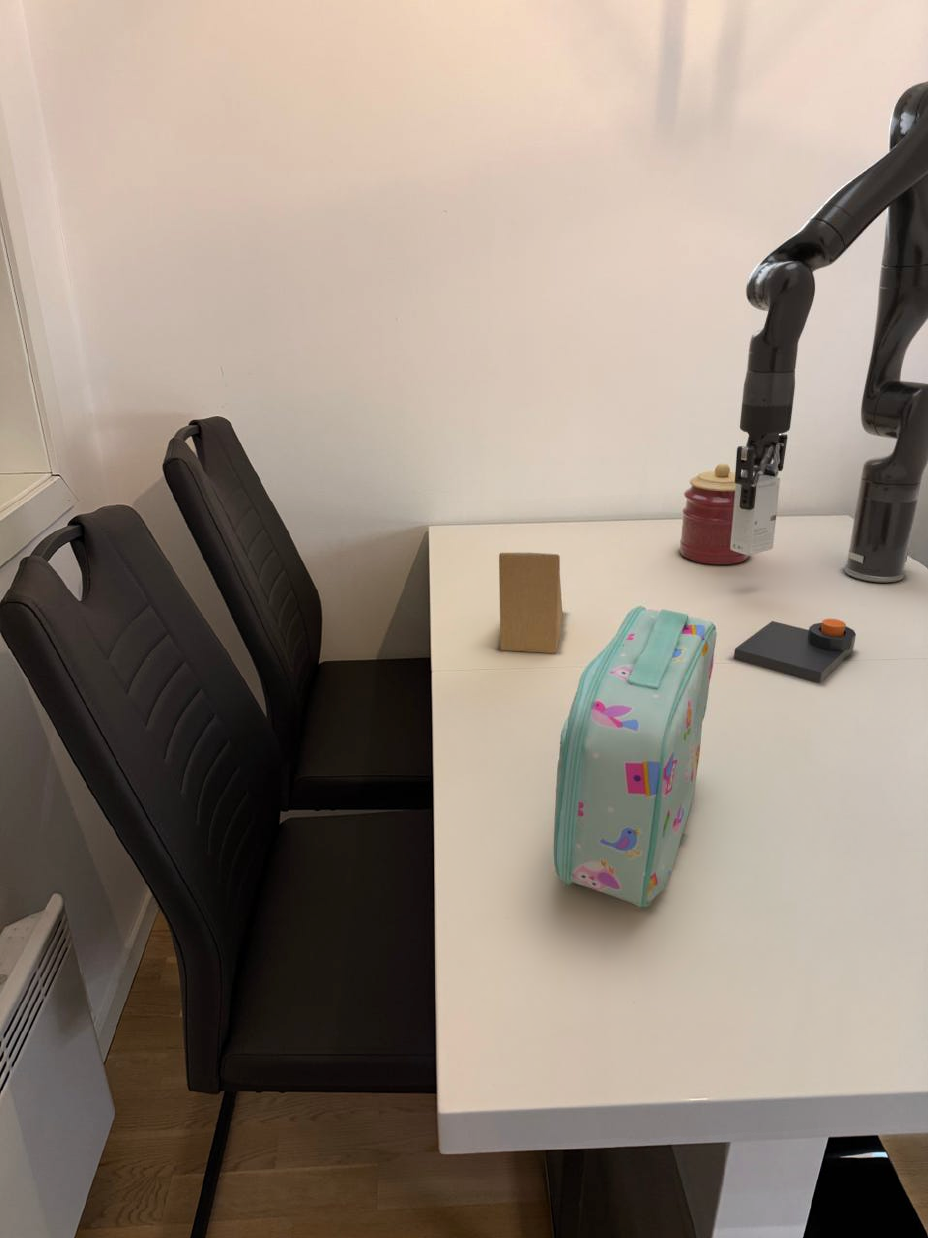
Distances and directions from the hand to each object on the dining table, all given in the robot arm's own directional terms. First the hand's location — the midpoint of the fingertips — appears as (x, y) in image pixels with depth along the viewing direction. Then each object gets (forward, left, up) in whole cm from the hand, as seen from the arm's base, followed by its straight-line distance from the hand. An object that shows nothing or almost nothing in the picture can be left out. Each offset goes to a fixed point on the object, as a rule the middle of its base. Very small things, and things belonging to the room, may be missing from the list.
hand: (756, 503), depth 137 cm
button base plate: (+20, +16, -15) cm, 30 cm away
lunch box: (+70, +19, -15) cm, 74 cm away
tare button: (+16, +19, -12) cm, 28 cm away
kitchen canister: (-15, -13, -15) cm, 25 cm away
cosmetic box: (0, 0, -8) cm, 8 cm away
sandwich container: (+36, -18, -15) cm, 43 cm away
